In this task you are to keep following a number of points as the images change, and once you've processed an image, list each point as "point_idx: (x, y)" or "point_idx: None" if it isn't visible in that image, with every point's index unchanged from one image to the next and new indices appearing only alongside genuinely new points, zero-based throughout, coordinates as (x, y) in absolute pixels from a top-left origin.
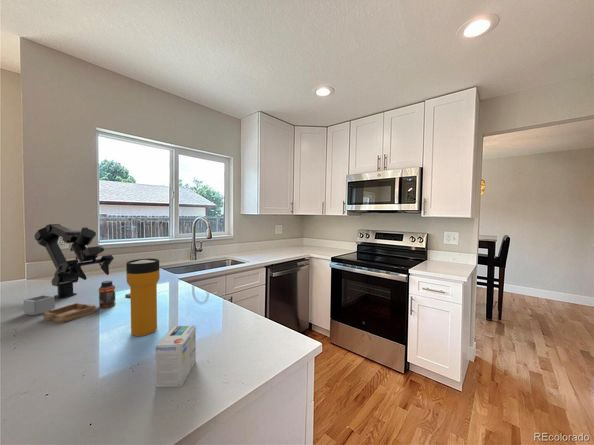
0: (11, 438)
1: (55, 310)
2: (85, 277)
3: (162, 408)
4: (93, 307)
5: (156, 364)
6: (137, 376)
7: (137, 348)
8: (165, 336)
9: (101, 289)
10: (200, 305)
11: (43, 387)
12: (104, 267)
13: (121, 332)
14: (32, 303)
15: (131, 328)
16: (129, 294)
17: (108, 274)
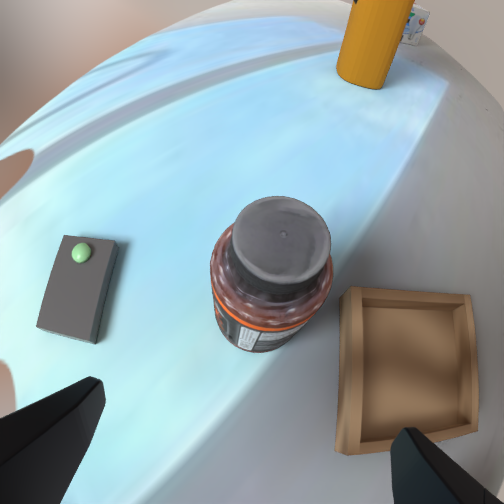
0: (498, 103)
1: (445, 429)
2: (419, 434)
3: (422, 41)
4: (359, 288)
5: (423, 27)
6: (421, 57)
7: (397, 69)
8: (416, 7)
9: (330, 259)
10: (183, 49)
11: (490, 119)
12: (19, 497)
13: (387, 106)
14: None
15: (386, 75)
16: (83, 316)
17: (97, 384)
